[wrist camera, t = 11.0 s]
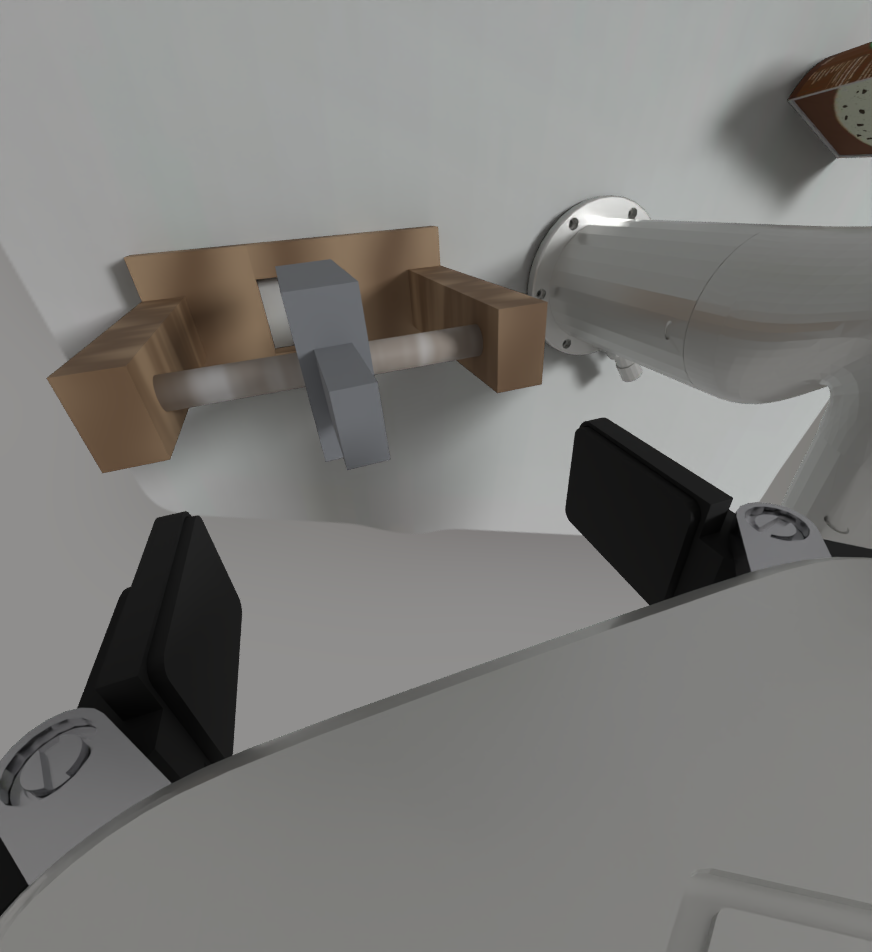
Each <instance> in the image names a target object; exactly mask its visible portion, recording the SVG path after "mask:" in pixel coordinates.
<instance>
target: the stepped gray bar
mask: <svg viewBox="0 0 872 952" xmlns="http://www.w3.org/2000/svg"><path fill="white" fill-rule="evenodd" d="M275 269H276V273H277V278H278V283H279V288H280V292H281V296H282V300H283V304H284V307H285V311H286V315H287V319H288V322H289V326H290V330H291V334H292V337H293V341H294V345H295V348H296V352H297V356H298V360H299V363H300V367H301V371H302V375H303V378H304V382H305V386H306V390H307V393H308V397H309V401H310V405H311V408H312V412H313V416H314V420H315V423H316V427H317V431H318V435H319V438H320V442H321V446H322V449H323V453H324V457H325V461H326V462H327V461H331V460H335V459H340V458H344V461H345V464H346V467H347V470H350V469H354V468H358V467H362V466H366V465H370V464H374V463H378V462H382V461H386V460H390V454H389V448H388V442H387V436H386V430H385V424H384V418H383V412H382V406H381V400H380V394H379V388H378V382H377V380H376V379H375V377H374V371H373V365H372V359H371V353H370V347H369V341H368V335H367V329H366V324H365V318H364V312H363V306H362V300H361V294H360V288H359V282H358V281H357V280H356V279H355V278H354V277H352V276H351V275H350V274H349V273H347V272H346V271H345V270H344V269H342V268H341V267H340V266H339V265H337V264H336V263H335V262H334V261H333V260H331V259H328V260H320V261H312V262H305V263H297V264H290V265H282V266H275Z"/></svg>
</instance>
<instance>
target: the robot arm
mask: <svg viewBox="0 0 872 952" xmlns="http://www.w3.org/2000/svg"><path fill="white" fill-rule="evenodd" d="M537 292H538V294H537ZM528 295H529V296H532V297H534V298H537V299H540V300H543V301H546V302H548V306H547V319H546V333H545V342H546V343H547V344H549V345H550V346H551V347H553V348H555V349H557V350H559V351H561V352H564V353H567V354H572V355H585V354H591V353H594V352H597V351H600V350H601V351H603V352H606V353H607V355H608V357H609V358H610V359H613V360H615V362H616V367H617V369H618V371H619V374H620V376H621V378H622V380H623V381H625V382H631V381H634V380H636V379H638V378H639V377H640V376H641V374H642V368H641V366H644V367H646V368H648V369H651V370H653V371H656V372H658V373H660V374H663V375H665V376H667V377H670V378H672V379H675V380H677V381H679V382H682V383H684V384H686V385H689V386H691V387H693V388H696V389H698V390H701V391H703V392H705V393H708V394H710V395H712V396H715V397H717V398H720V399H723V400H726V401H730V402H735V403H741V404H764V403H771V402H777V401H782V400H785V399H789V398H793V397H797V396H800V395H803V394H806V393H809V392H812V391H815V390H818V389H821V388H824V387H827V386H828V387H829V389H830V399H829V403H828V406H827V408H826V410H825V413H824V415H823V417H822V420H821V422H820V424H819V429H818V431H817V433H816V435H815V437H814V439H813V441H812V443H811V445H810V447H809V449H808V451H807V453H806V455H805V457H804V459H803V461H802V463H801V465H800V467H799V469H798V471H797V473H796V475H795V477H794V479H793V481H792V483H791V485H790V487H789V489H788V491H787V493H786V496H785V498H784V500H783V502H782V504H781V506H780V505H775V504H771V503H761V502H755V503H747V504H745V505H742V506H740V508H739V509H738V510H737V511H736V514H735V513H733V512H732V511H730V510H729V507H730V505H731V502H732V500H733V498H732V497H731V496H729V495H727V494H726V493H724V492H723V491H721V490H720V489H718V488H716V487H715V486H713V485H712V484H710V483H708V482H707V481H705V480H704V479H702V478H701V477H699V476H697V475H696V474H694V473H693V472H691V471H689V470H688V469H686V468H685V467H683V466H682V465H680V464H678V463H677V462H675V461H674V460H672V459H670V458H669V457H667V456H666V455H664V454H662V453H661V452H659V451H658V450H656V449H655V448H653V447H651V446H650V445H648V444H647V443H645V442H643V441H642V440H640V439H639V438H637V437H636V436H634V435H632V434H631V433H629V432H628V431H626V430H624V429H623V428H621V427H620V426H618V425H617V424H615V423H613V422H612V421H610V420H609V419H607V418H599V419H594V420H590V421H585V422H583V423H582V424H581V426H580V428H579V429H577V430H576V432H575V438H574V445H573V453H572V461H571V469H570V477H569V484H568V492H567V500H566V509H565V511H566V515H567V518H568V520H569V521H570V522H571V523H572V524H573V525H574V526H575V527H576V528H577V529H578V531H579V532H580V533H581V534H582V535H583V536H584V537H585V538H586V539H587V540H588V541H589V542H590V543H591V544H592V545H593V546H594V547H595V548H596V549H597V550H598V552H599V553H600V554H601V555H602V556H603V557H604V558H605V559H606V560H607V561H608V562H609V563H610V564H611V565H612V566H613V567H614V568H615V569H616V570H617V571H618V572H619V574H620V575H621V576H622V577H623V578H624V579H625V580H626V581H627V582H628V583H629V584H630V585H631V586H632V587H633V588H634V589H635V590H636V591H637V592H638V594H639V595H640V596H641V597H642V598H643V599H644V600H645V601H646V602H647V603H648V604H649V605H650V606H647V607H644V608H641V609H638V610H635V611H632V612H630V613H627V614H623V615H620V616H618V617H615V618H612V619H609V620H606V621H603V622H600V623H597V624H594V625H592V626H589V627H586V628H583V629H580V630H577V631H574V632H572V633H569V634H566V635H563V636H560V637H557V638H554V639H552V640H549V641H546V642H543V643H540V644H537V645H534V646H532V647H529V648H526V649H523V650H520V651H517V652H514V653H512V654H509V655H506V656H503V657H500V658H497V659H495V660H492V661H489V662H486V663H483V664H480V665H478V666H475V667H472V668H469V669H466V670H463V671H461V672H458V673H455V674H452V675H449V676H447V677H444V678H441V679H438V680H436V681H432V682H430V683H427V684H424V685H421V686H419V687H416V688H413V689H410V690H407V691H405V692H402V693H399V694H396V695H393V696H390V697H388V698H385V699H382V700H379V701H377V702H374V703H371V704H368V705H365V706H363V707H360V708H357V709H354V710H351V711H349V712H346V713H343V714H340V715H337V716H335V717H332V718H329V719H327V720H324V721H321V722H319V723H316V724H313V725H311V726H308V727H305V728H303V729H300V730H297V731H295V732H292V733H289V734H287V735H284V736H281V737H279V738H276V739H273V740H270V741H268V742H265V743H263V744H260V745H257V746H254V747H252V748H249V749H247V750H245V751H242V752H240V753H238V754H235V755H233V756H232V754H233V743H234V728H235V712H236V696H237V682H238V666H239V650H240V636H241V621H242V608H241V603H240V599H239V597H238V595H237V593H236V591H235V588H234V586H233V584H232V582H231V580H230V578H229V576H228V574H227V571H226V569H225V567H224V565H223V563H222V561H221V559H220V557H219V555H218V552H217V550H216V548H215V546H214V544H213V542H212V540H211V537H210V535H209V533H208V531H207V529H206V527H205V525H204V522H203V520H202V519H201V517H200V516H198V515H197V516H193V517H192V516H191V515H190V514H189V513H188V512H186V511H185V512H181V513H176V514H172V515H167V516H163V517H159V518H157V519H156V520H155V522H154V525H153V528H152V530H151V533H150V536H149V538H148V541H147V544H146V547H145V549H144V552H143V555H142V558H141V561H140V563H139V566H138V569H137V572H136V574H135V577H134V580H133V583H132V585H131V587H129V588H127V589H125V590H124V591H123V592H122V594H121V596H120V597H119V600H118V603H117V605H116V608H115V610H114V613H113V616H112V618H111V621H110V624H109V626H108V629H107V631H106V634H105V637H104V639H103V642H102V645H101V647H100V650H99V653H98V655H97V658H96V660H95V663H94V666H93V668H92V671H91V673H90V676H89V679H88V681H87V684H86V687H85V689H84V692H83V695H82V697H81V700H80V702H79V706H78V708H77V709H73V710H69V711H65V712H63V713H61V714H59V715H56V716H54V717H52V718H50V719H48V720H46V721H45V722H43V723H41V724H40V725H38V726H37V727H35V728H34V729H32V730H31V731H29V732H28V733H27V734H26V735H25V736H24V737H23V738H21V739H20V740H19V741H18V742H17V743H16V744H15V745H14V746H12V747H11V749H10V750H9V751H8V752H7V754H6V755H5V756H4V757H3V758H2V759H1V761H0V952H872V227H831V226H800V225H772V224H745V223H719V222H692V221H665V220H651V218H650V217H649V215H648V214H647V213H646V211H645V210H644V209H643V208H642V207H641V206H640V205H638V204H637V203H636V202H635V201H632V200H630V199H628V198H625V197H621V196H612V195H611V196H598V197H594V198H591V199H587V200H585V201H583V202H581V203H579V204H577V205H576V206H574V207H572V208H571V209H570V210H568V211H567V212H566V213H565V214H564V215H562V216H561V217H560V218H559V219H558V221H557V222H556V223H555V224H554V225H553V226H552V227H551V229H550V230H549V231H548V233H547V235H546V236H545V238H544V239H543V241H542V243H541V244H540V247H539V249H538V251H537V253H536V256H535V258H534V261H533V264H532V268H531V271H530V275H529V283H528ZM640 365H641V366H640Z"/></svg>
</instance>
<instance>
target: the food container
mask: <svg viewBox="0 0 872 952" xmlns="http://www.w3.org/2000/svg"><path fill="white" fill-rule="evenodd" d="M788 101H789V103H790V104H791V105H792V106H793V107H794V109H795V110H796V111H797V112H798V113H799V114H800V116H801V117H802V118H803V119H804V120H805V121H806V123H807V124H808V125H809V126H810V127H811V128H812V130H813V131H814V132H815V133H816V134H817V135H818V137H819V138H820V139H821V140H822V141H823V142H824V144H825V145H826V146H827V147H828V148H829V150H830V151H831V152H832V153H833V154H834V155H835V157H836V158H856V157H872V42H869V43H867V44H864V45H861V46H858V47H855V48H852V49H850V50H847V51H844V52H841V53H838V54H836V55H833V56H830V57H828V58H826V59H824V60H823V61H821V62H820V63H818V64H817V65H816V66H814V67H813V68H812V69H811V70H810V71H809V72H808V73H807V74H806V75H805V76H804V77H803V78H802V80H801V81H800V82H799V84H798V85H797V86H796V88H795V89H794V91H793V92H792V94H791V95H790V97H789V98H788Z"/></svg>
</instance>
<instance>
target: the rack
mask: <svg viewBox="0 0 872 952" xmlns="http://www.w3.org/2000/svg"><path fill="white" fill-rule="evenodd" d="M328 259H331V260H333V261H334V262H335V263H336V264H337V265H339V266H340V267H341V268H342V269H344V270H345V271H346V272H347V273H349V274H350V275H351V276H352V277H354V278H355V279H356V280H357V281H358V282H359V288H360V294H361V300H362V306H363V312H364V318H365V324H366V329H367V335H368V341H369V347H370V353H371V359H372V365H373V371H374V375H375V374H381V373H387V372H392V371H398V370H403V369H409V368H415V367H420V366H426V365H431V364H437V363H443V362H448V361H454V360H456V361H458V362H459V363H460V364H461V365H463V366H464V367H465V368H466V369H468V370H469V371H470V372H472V373H473V374H474V375H475V376H477V377H478V378H479V379H480V380H482V381H483V382H484V383H485V384H487V385H488V386H489V387H490V388H492V389H493V390H494V391H495V392H497V393H501V392H506V391H510V390H515V389H520V388H525V387H530V386H535V385H540V384H542V373H543V360H544V346H545V333H546V319H547V306H548V302H546V301H543V300H540V299H537V298H534V297H532V296H529V295H526V294H523V293H520V292H517V291H514V290H511V289H508V288H505V287H502V286H499V285H496V284H493V283H490V282H487V281H484V280H481V279H478V278H475V277H472V276H469V275H466V274H464V273H461V272H458V271H455V270H452V269H449V268H446V267H443V266H440V253H439V235H438V227H436V226H426V227H416V228H405V229H395V230H385V231H374V232H364V233H354V234H344V235H333V236H323V237H313V238H302V239H292V240H282V241H272V242H261V243H251V244H241V245H230V246H220V247H210V248H200V249H189V250H179V251H169V252H158V253H148V254H138V255H129V256H127V257H124V260H125V262H126V265H127V267H128V269H129V272H130V274H131V277H132V279H133V281H134V284H135V286H136V288H137V291H138V293H139V296H140V298H141V300H142V302H141V303H140V304H138V305H137V306H136V307H135V308H133V309H132V310H131V311H130V312H128V313H127V314H126V315H125V316H123V317H122V318H121V319H120V320H119V321H117V322H116V323H115V324H114V325H112V326H111V327H110V328H109V329H107V330H106V331H105V332H104V333H102V334H101V335H100V336H99V337H97V338H96V339H95V340H94V341H92V342H91V343H90V344H89V345H87V346H86V347H85V348H84V349H82V350H81V351H80V352H79V353H77V354H76V355H75V356H74V357H72V358H71V359H70V360H69V361H67V362H66V363H65V364H64V365H62V367H60V368H59V369H57V370H56V371H55V372H54V373H52V374H51V375H50V376H49V377H48V378H47V380H48V381H49V383H50V385H51V387H52V388H53V390H54V392H55V393H56V395H57V397H58V398H59V400H60V402H61V403H62V405H63V407H64V409H65V410H66V412H67V414H68V415H69V417H70V419H71V421H72V422H73V424H74V426H75V427H76V429H77V431H78V432H79V434H80V436H81V437H82V439H83V441H84V442H85V444H86V446H87V448H88V449H89V451H90V453H91V454H92V456H93V458H94V460H95V461H96V463H97V465H98V466H99V468H100V470H101V471H102V473H106V472H111V471H116V470H120V469H126V468H131V467H135V466H140V465H145V464H150V463H155V462H160V461H165V460H170V459H171V456H172V453H173V450H174V447H175V445H176V442H177V439H178V436H179V434H180V431H181V428H182V425H183V423H184V420H185V417H186V414H187V412H188V409H189V408H190V407H196V406H201V405H207V404H213V403H218V402H224V401H229V400H235V399H241V398H246V397H252V396H257V395H263V394H269V393H274V392H280V391H286V390H291V389H297V388H302V387H306V386H305V382H304V378H303V375H302V371H301V367H300V363H299V360H298V356H297V352H296V348H295V346H288V347H282V348H276V349H275V346H274V342H273V339H272V335H271V331H270V328H269V324H268V320H267V317H266V313H265V309H264V306H263V302H262V298H261V295H260V291H259V287H258V284H257V280H256V279H265V278H273V277H277V273H276V269H275V266H282V265H290V264H297V263H305V262H312V261H320V260H328Z"/></svg>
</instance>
